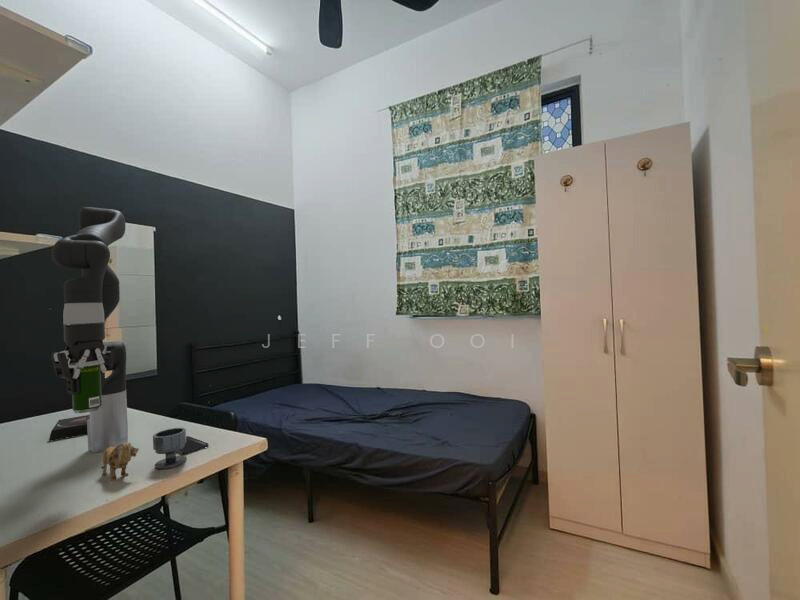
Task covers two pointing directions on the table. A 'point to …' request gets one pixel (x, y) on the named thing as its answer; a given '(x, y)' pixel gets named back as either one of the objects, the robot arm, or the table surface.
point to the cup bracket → (169, 447)
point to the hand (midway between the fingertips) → (86, 391)
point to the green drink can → (88, 388)
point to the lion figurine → (118, 459)
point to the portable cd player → (70, 427)
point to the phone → (192, 446)
